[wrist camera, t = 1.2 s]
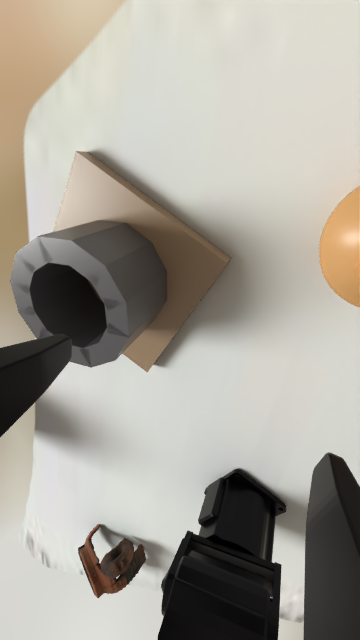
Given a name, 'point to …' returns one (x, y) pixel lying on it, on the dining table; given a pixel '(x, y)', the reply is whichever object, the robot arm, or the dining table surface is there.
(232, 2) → the dining table surface
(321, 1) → the dining table surface
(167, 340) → the tube on square plate
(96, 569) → the brown curved piece
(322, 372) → the dining table surface
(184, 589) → the robot arm
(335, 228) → the orange cap
